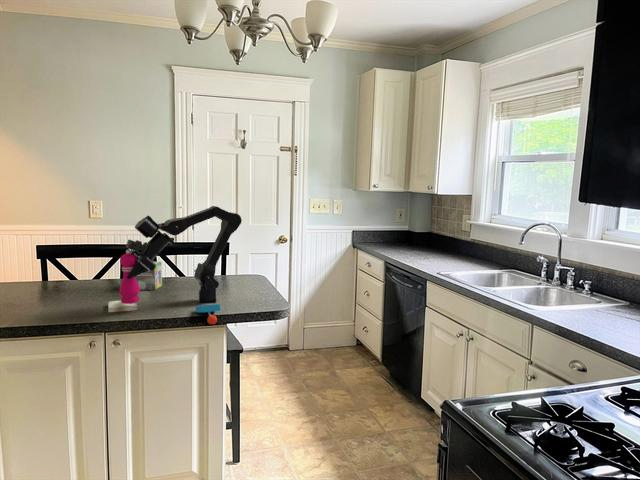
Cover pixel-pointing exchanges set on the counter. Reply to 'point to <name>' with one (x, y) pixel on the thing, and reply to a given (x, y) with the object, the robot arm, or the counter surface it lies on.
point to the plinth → (121, 306)
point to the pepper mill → (129, 280)
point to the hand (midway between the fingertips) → (125, 277)
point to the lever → (209, 312)
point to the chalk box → (150, 278)
